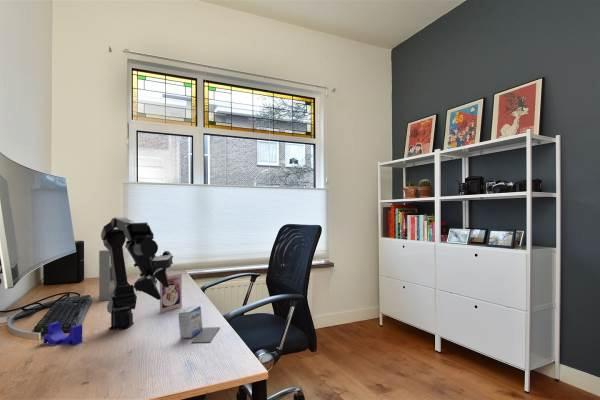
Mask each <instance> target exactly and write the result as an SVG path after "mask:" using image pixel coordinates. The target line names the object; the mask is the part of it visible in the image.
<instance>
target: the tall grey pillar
mask: <svg viewBox="0 0 600 400" xmlns="http://www.w3.org/2000/svg"><path fill="white" fill-rule="evenodd" d="M122 248H123V255H125V254H124V253H125V248H124V247H122ZM98 254H99V255H98V257H99V258H98V263H99V264H98V278H99V279H98V292H99V293H98V301H109V300H110V297H111V292H112V290H113V288H114V281H113V273H112V266H111V259H110V252H109V250H108V249H107V248H106V249H101V250H99V251H98Z"/></svg>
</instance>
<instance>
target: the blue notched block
mask: <svg viewBox="0 0 600 400" xmlns="http://www.w3.org/2000/svg"><path fill="white" fill-rule="evenodd" d="M47 327H48V329H47V332H48V333H45V334H43V344H45V343H47V342H48V343H49V344H48V345H52V344H55V345H54V346H58V345H61V344H60V343H63V344H62V345H68V344H70V346H75V344H76V345H78V344H81V343H83V323H82V324H81V323H79V324H76V325H73V326H70V330H69V333H68V335H67V334H65V332H64V331H63V329H62V326H61V321H55V322H51V323H48V325H47ZM57 344H58V345H57ZM71 344H72V345H71Z"/></svg>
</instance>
